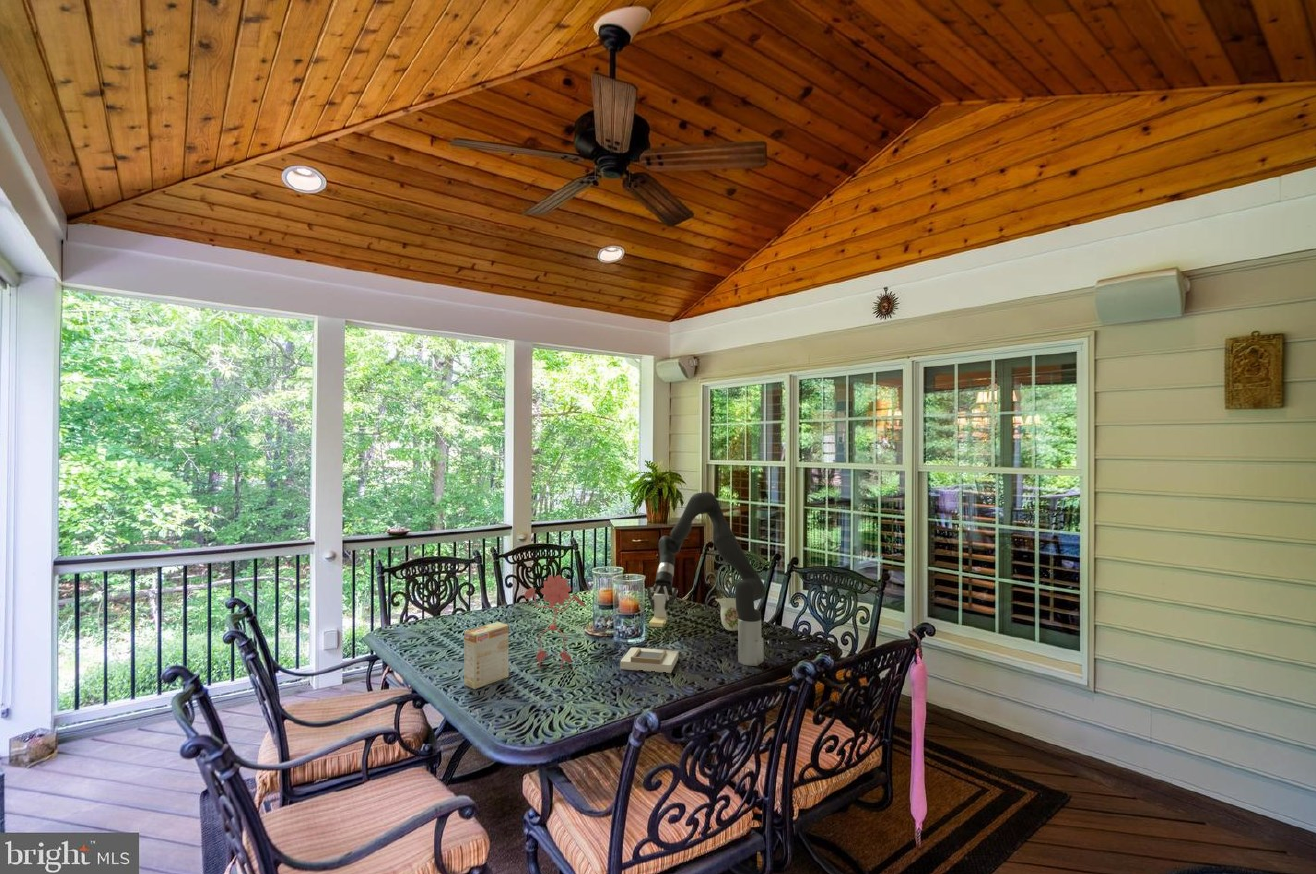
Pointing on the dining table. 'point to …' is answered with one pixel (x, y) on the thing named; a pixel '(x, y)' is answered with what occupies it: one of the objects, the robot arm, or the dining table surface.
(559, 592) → the red stick figure
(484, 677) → the coffeecake box
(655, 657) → the dock
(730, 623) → the pitcher
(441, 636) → the dining table surface
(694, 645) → the dining table surface
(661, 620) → the beige l-shaped block
